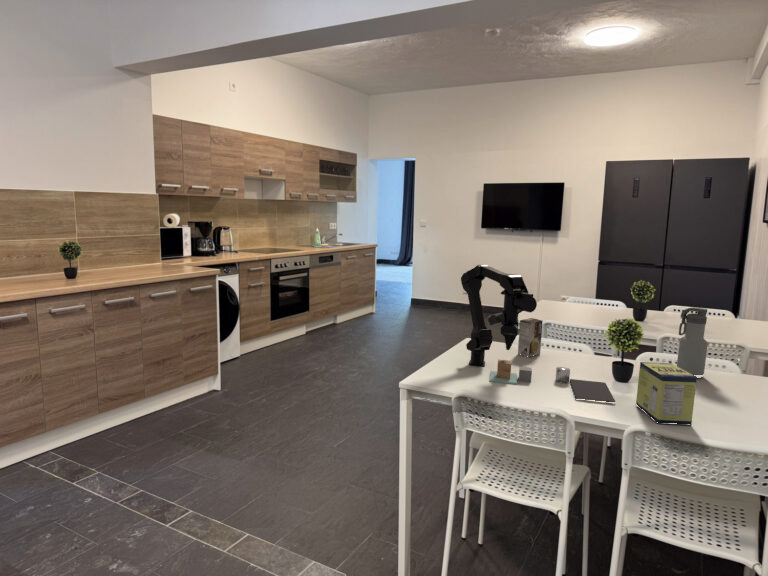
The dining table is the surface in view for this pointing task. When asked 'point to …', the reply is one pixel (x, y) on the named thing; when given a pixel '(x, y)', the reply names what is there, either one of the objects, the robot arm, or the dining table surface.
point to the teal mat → (510, 381)
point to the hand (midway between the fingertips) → (508, 346)
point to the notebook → (591, 390)
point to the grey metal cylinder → (562, 374)
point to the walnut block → (504, 369)
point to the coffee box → (530, 337)
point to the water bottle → (693, 342)
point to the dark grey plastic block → (525, 374)
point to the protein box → (666, 392)
